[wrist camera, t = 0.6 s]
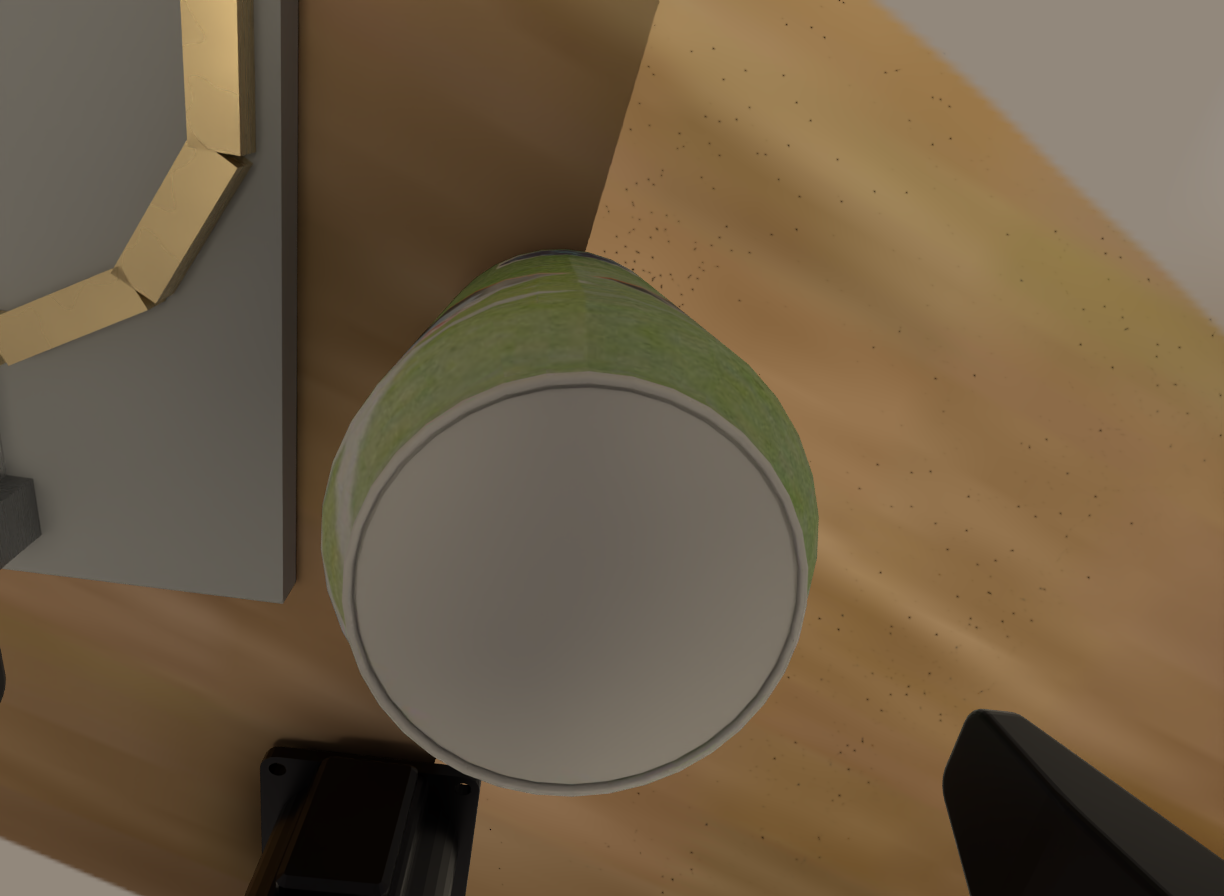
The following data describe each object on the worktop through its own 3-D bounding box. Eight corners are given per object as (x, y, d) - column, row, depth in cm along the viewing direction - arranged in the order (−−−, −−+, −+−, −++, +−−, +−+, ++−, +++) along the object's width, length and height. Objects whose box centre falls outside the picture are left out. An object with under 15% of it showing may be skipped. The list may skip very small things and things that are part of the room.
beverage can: (420, 448, 20) (221, 880, 10) (469, 149, 17) (260, 286, 7) (659, 499, 21) (725, 953, 10) (746, 220, 18) (967, 448, 7)
